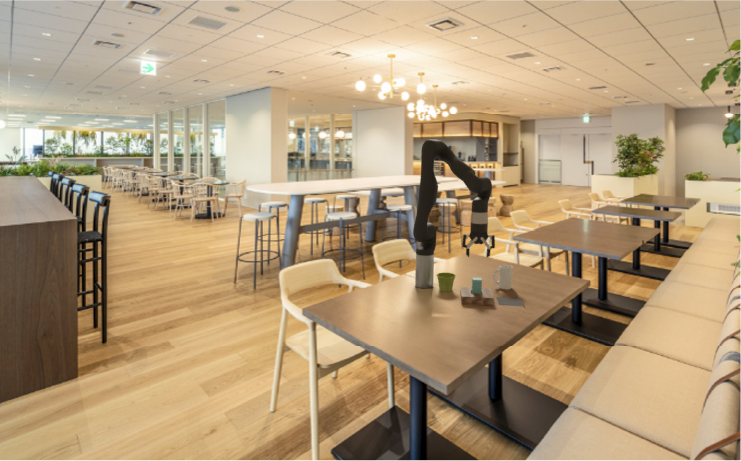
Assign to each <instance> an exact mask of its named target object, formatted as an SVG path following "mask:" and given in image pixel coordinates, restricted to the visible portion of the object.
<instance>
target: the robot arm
mask: <svg viewBox="0 0 741 461" xmlns="http://www.w3.org/2000/svg"><path fill="white" fill-rule="evenodd" d="M420 155H421V158H420V160H421V166H420V179H419V189H418V199H417V207H416V216H415V219H414V224H413V228H412V229H413V230H412V231H413V233H412V235H413V238H414V240H415V241H416V242H418V243H420V244H419V245H418V247H417V248H416V250H415V273H414V275H415V279H414V280H415V284H414V285H415V286H414V287H415V288H421V289H430V288H433V287H434V273H435V272H434V266H435V262H434V259H435V250H436V247H437V230H436V226H435V224H433V223H432V222H429V218H430V214H431V212H432V210H433V208H434V206H435V204H436V202H437V199H438V192H439V184H438V180H437V177H436V175H435V170H434V169H435V168H434V167H435V166H434V165H435V160H439V161H442V162H444V163H445V164H446V165H447V166H448V167H449V169H450V171H451V172H452V174H453V175H454V176H456V177H457V178H458V179H459V180H460V181H462V182H463V184H465V187H466V188H467V189H468V190H469V191H470V192H472V193H473V194H476V197H475V198H474V199H472V201H471V213H470V214H471V215H470V229H469V230H470V232H469V234H467V233H463V234H462V246H461V247H462V248H464V249H465V255H466V256H467V257H469V258H470V251H471V250H470V248H471V247H472V246H473V244H474V245H483V244H484V246H485V247H486V258H489V257H490V256H491V250H492V249H495V247H496V238H495V237H496V236H495V234H493V233H492V234H488V227H489V214H488V211H489V200H490V197H491V195H492V194H491V193H492V190H493V183H492V181H491V179H490V178H489V177H486V176H481V177H479V176H477V175H476V172H475V169H474V168H472V167H471V166H470V165H468V164H467V163H466V162H464V161H463V160H461V158H459V157H458V156H457V155H456V154H455V153H454V152H453V151H452V150H451V149H450V147H449V146H448V145H447V144H446V143H445V142H444V141H443V140H441V139H426V140H425V141H424V142H423V144H422V146H421V154H420ZM468 238H469V242H468V244H466V241H467V240H468ZM488 239H489V240H490V242H491V243H490V244H489V243H488V242H487V240H488Z"/></svg>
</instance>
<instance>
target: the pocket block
mask: <svg viewBox="0 0 741 461" xmlns="http://www.w3.org/2000/svg"><path fill="white" fill-rule="evenodd" d="M459 290H460V295H459V296H460V301H461V305H475V306H476V305H477V306H488V307H489V306H494V304H495V302H494V301H495V298H494V295H493V291H492V289H491V287H482V290H481V294H472V286H469V287H468V286H460V289H459Z"/></svg>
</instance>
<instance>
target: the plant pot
mask: <svg viewBox="0 0 741 461" xmlns="http://www.w3.org/2000/svg"><path fill="white" fill-rule="evenodd" d="M436 277H437V280H438V282H437V283H438V288H439V291H441V292H444V293H449V292H452V291H453V287H454V282H455V279H456V274H455V273H453V272H438V273H437V274H436Z"/></svg>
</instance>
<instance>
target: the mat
mask: <svg viewBox="0 0 741 461" xmlns="http://www.w3.org/2000/svg"><path fill="white" fill-rule="evenodd" d="M495 298H496V301H497V304H498V305H499V306H514V307H523V308H524V309H525V304H524V302H523V300H522V298H521V297H512V296H510V297H509V296H495Z"/></svg>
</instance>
